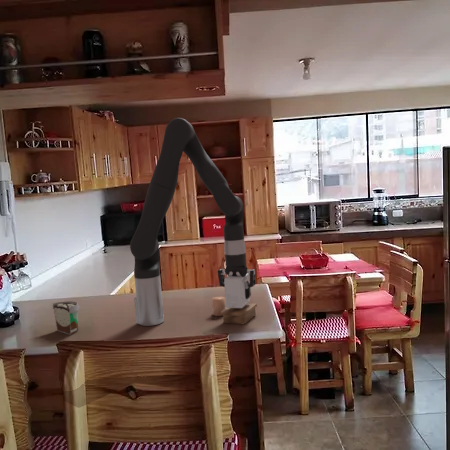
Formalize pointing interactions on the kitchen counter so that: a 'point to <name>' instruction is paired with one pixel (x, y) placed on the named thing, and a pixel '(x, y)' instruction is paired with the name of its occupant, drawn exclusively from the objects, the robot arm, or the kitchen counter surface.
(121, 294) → the kitchen counter surface
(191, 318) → the kitchen counter surface
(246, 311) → the stand
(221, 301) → the peach rounded knob
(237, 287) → the skincare box
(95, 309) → the kitchen counter surface
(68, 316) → the food container
